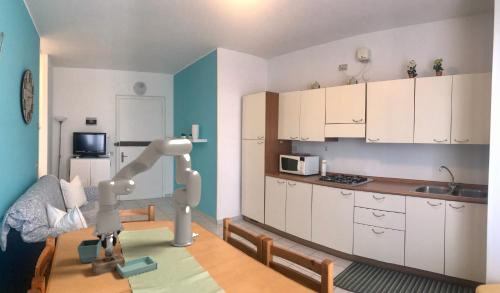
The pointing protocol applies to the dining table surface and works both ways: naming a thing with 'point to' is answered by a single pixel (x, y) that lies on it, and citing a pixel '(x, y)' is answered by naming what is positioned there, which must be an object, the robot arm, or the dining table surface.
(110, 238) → the pin
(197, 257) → the dining table surface
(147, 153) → the robot arm
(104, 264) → the socket block
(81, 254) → the flower pot
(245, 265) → the dining table surface
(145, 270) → the tray
